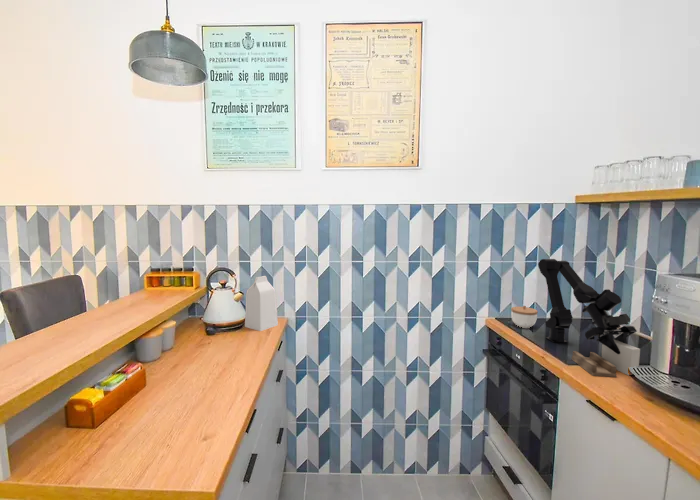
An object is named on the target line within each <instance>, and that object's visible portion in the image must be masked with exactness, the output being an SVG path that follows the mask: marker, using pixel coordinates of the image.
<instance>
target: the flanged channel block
mask: <svg viewBox="0 0 700 500" xmlns="http://www.w3.org/2000/svg"><path fill="white" fill-rule="evenodd" d="M571 360H572V361H573V362H575V364H577V365H578V366H580V367H581V368H582V369H583V370H585V371H586V372H587V373H588V374H590V375H591V376H593V377H605V378H607V377H609V378H617V373H616V372H617V370H616V366H614V365H613V364H611V363H610V362H608V361H607V360H605V359H604V358H602V357H601V355H600V354H597V353H596V352H594V351H589V357H587V356H584V355H583V354H582V353H580V352H578V351H577V350H573V351H572V356H571Z"/></svg>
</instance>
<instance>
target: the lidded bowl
mask: <svg viewBox="0 0 700 500" xmlns="http://www.w3.org/2000/svg"><path fill="white" fill-rule="evenodd" d="M510 309H511V320H512V322H513V323H514V324H515V326H516V325H517V326H516V327H518V326H519V327H518V328H521V327H522V328H521V329H531V328H532V327H533V326H534V325H535V324H536V322H537V319H538V314H539V313H538V312H539V311H538V310H537V309H536V308H532V307H526V305H523V306H513V307H511V308H510ZM530 327H531V328H530Z"/></svg>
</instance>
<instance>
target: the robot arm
mask: <svg viewBox="0 0 700 500" xmlns="http://www.w3.org/2000/svg"><path fill="white" fill-rule="evenodd" d="M537 265H538V269H539V272H540V274H542V276H543V277H544V278H545V282H546V285H547V290H548V294H549V300H550V304H551V310H550V312H549V317H550V318H548V319H547V320H546V321H545V323H544V324H545V327H546V328H548V329H549V336H546V337H545V338H546V339H547V340H548V341H551V342H553V343H554V344H555V343H568V340H566V339H565V338H566V337H565V335H566V330H567V329H568V330H569V329H570V327H571V324H572V323H573V319H574V317H573V314H572V311H571V309H567V307H565V303H564V300H563V296H562V290H561V286H560V282H559V278H558V275H559V273H560V274H561V275H562V277H563V278H565V280H566V282H567V283H568V284H569V286H571V288H572V290H573V292H572V293H573V294H572V295H573V296H574V297H575V299H576V301H577V302H578V303H579V304H587V305H584V306H583V308H582V313H588V315H589V316H590V317H591V320H592V322H591V324H592V325H593V326H595V327H591V328H590V329H588V330H586V331H585V333H584V336H585V338H586V340H587V341H593V340H595V337H596V336H597V339H596V342H599V343H601V344H604V345H605V346H607V347H608V348H610V349H611V350H613V351H614V352H615V353H617V354H620V351H619V349H618V347H617V345H616V343H615V342H614V340H613V339H615V340H617V341H620V342H623V343H625V344H628V341H627V339H628V337H630V336H632V335H634V334H636V333H637V332H638V330H637V329H636V327H635V326H633V325H629V323H630V322H631V318H630V316H629V315H628V313H622V314H619V315H618V316H613V315H611V314H608V313H607V312H610V311H611V310H613V309H614V308H615V307H617V306H618V305H619V304H621V302H622V299H621V297H620V296H619V295H618V294H617V293H615V292H613V291H611V289H608V288H607V289H604V290H602V292H601V293H598V291H597V290H596V289H594V288H593V287H592V286H590V285H588V284H586V283H585V282H584V281H583V280H582V278H581V277H580V276H579V275H578V274H577V272H576V271H575V270H574V269H573V267H572V266H571V265H570V262H569V261H567V260H557V259H555V258H542V259H540V260H539V262H538V264H537ZM621 326H622V327H621Z"/></svg>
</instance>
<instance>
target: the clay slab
mask: <svg viewBox="0 0 700 500" xmlns="http://www.w3.org/2000/svg"><path fill="white" fill-rule="evenodd" d="M613 340H614V342H615V343H616V345H617V347H618V349H619V351H620V354H617V353H615V352H614V351H613V350H611V349H610V348H608V347H607V346H605V345H604V344H602V343H601V344H602V345H601V355H600V356H601V357H602V358H604V359H605V360H607V361H608V362H610V363H611V364H613V365H614V366H616V371H618V372H620V373H622V374H624V375H626V376H629V374H628V367H634V366H639V367H640V358H641V356H640V355H641V348H639V347H636V346H633V345H631V344H628V343H627V344H625V343H623V342H620V341H617V340H615V339H614V338H613Z"/></svg>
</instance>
